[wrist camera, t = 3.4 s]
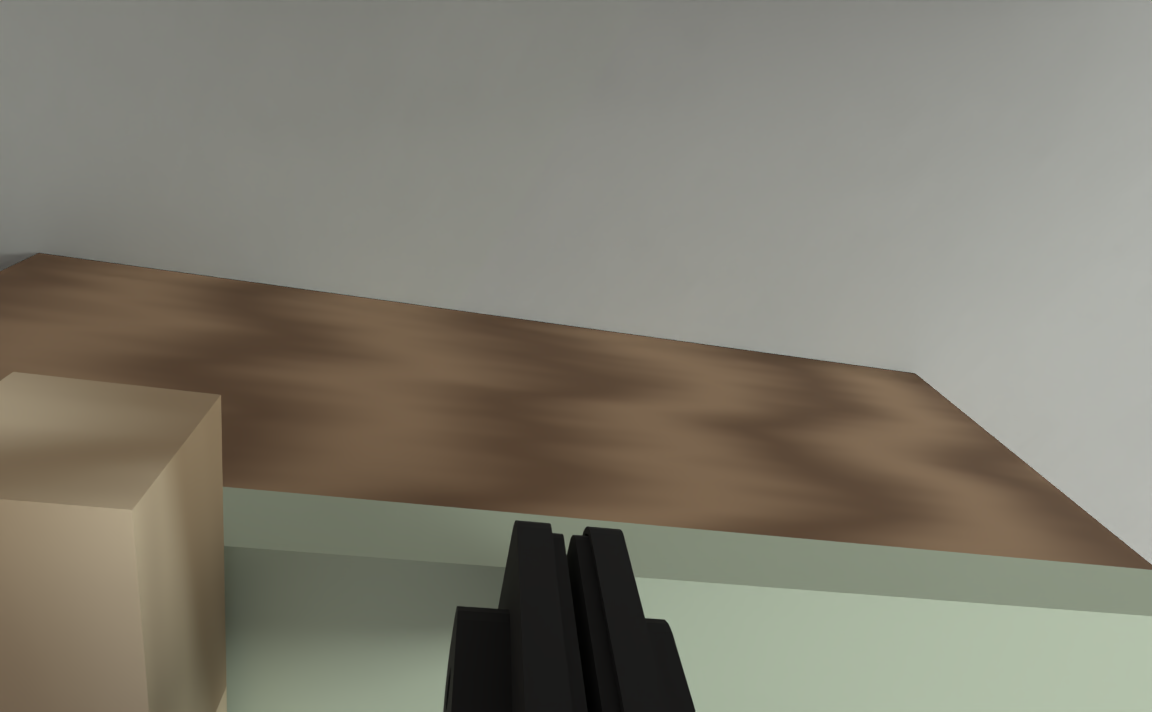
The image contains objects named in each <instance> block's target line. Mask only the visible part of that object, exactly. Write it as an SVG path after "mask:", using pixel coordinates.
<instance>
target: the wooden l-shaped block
mask: <svg viewBox="0 0 1152 712" xmlns="http://www.w3.org/2000/svg"><path fill="white" fill-rule="evenodd" d="M0 712H227V684H226V631H225V579H224V527H223V474H222V422H221V395H218V394H209V393H200V392H191V391H182V390H173V389H164V388H155V387H146V386H137V385H128V384H119V383H110V382H101V381H92V380H83V379H74V378H65V377H55V376H46V375H37V374H28V373H19V372H12V373H11V374H9V375H8V376H6V377H5V378H4V379H2V380H1V381H0Z"/></svg>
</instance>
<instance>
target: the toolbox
mask: <svg viewBox="0 0 1152 712" xmlns="http://www.w3.org/2000/svg"><path fill="white" fill-rule="evenodd" d="M12 372H19V373H28V374H37V375H46V376H55V377H65V378H74V379H83V380H92V381H101V382H110V383H119V384H128V385H137V386H146V387H155V388H164V389H173V390H182V391H191V392H200V393H209V394H218V395H221V422H222V474H223V487H232V488H243V489H254V490H265V491H277V492H288V493H299V494H310V495H321V496H332V497H344V498H355V499H366V500H377V501H388V502H399V503H411V504H422V505H433V506H444V507H455V508H466V509H478V510H489V511H500V512H511V513H522V514H533V515H545V516H556V517H567V518H578V519H589V520H600V521H612V522H623V523H634V524H645V525H656V526H667V527H679V528H690V529H701V530H712V531H723V532H735V533H746V534H757V535H768V536H779V537H790V538H802V539H813V540H824V541H835V542H846V543H857V544H869V545H880V546H891V547H902V548H913V549H924V550H936V551H947V552H958V553H969V554H980V555H991V556H1003V557H1014V558H1025V559H1036V560H1047V561H1058V562H1070V563H1081V564H1092V565H1103V566H1114V567H1125V568H1137V569H1148V570H1152V565H1151V564H1150V563H1149V562H1147V561H1146V560H1145V559H1144V558H1143V557H1141V556H1140V555H1139V554H1138V553H1136V552H1135V551H1134V550H1133V549H1131V548H1130V547H1129V546H1128V545H1126V544H1125V543H1124V542H1123V541H1122V540H1120V539H1119V538H1118V537H1117V536H1115V535H1114V534H1113V533H1112V532H1110V531H1109V530H1108V529H1107V528H1105V527H1104V526H1103V525H1102V524H1101V523H1099V522H1098V521H1097V520H1096V519H1094V518H1093V517H1092V516H1091V515H1089V514H1088V513H1087V512H1086V511H1084V510H1083V509H1082V508H1081V507H1080V506H1078V505H1077V504H1076V503H1075V502H1073V501H1072V500H1071V499H1070V498H1068V497H1067V496H1066V495H1065V494H1063V493H1062V492H1061V491H1060V490H1059V489H1057V488H1056V487H1055V486H1054V485H1052V484H1051V483H1050V482H1049V481H1047V480H1046V479H1045V478H1044V477H1042V476H1041V475H1040V474H1039V473H1038V472H1036V471H1035V470H1034V469H1033V468H1031V467H1030V466H1029V465H1028V464H1026V463H1025V462H1024V461H1023V460H1021V459H1020V458H1019V457H1018V456H1017V455H1015V454H1014V453H1013V452H1012V451H1010V450H1009V449H1008V448H1007V447H1005V446H1004V445H1003V444H1002V443H1000V442H999V441H998V440H997V439H996V438H994V437H993V436H992V435H991V434H989V433H988V432H987V431H986V430H984V429H983V428H982V427H981V426H979V425H978V424H977V423H976V422H975V421H973V420H972V419H971V418H970V417H968V416H967V415H966V414H965V413H963V412H962V411H961V410H960V409H958V408H957V407H956V406H955V405H954V404H952V403H951V402H950V401H949V400H947V399H946V398H945V397H944V396H942V395H941V394H940V393H939V392H937V391H936V390H935V389H934V388H933V387H931V386H930V385H929V384H928V383H926V382H925V381H924V380H923V379H921V378H920V377H919V376H918V375H916V374H915V373H907V372H900V371H893V370H886V369H878V368H871V367H864V366H857V365H849V364H842V363H835V362H827V361H820V360H813V359H806V358H798V357H791V356H784V355H777V354H769V353H762V352H755V351H747V350H740V349H733V348H726V347H718V346H711V345H704V344H697V343H689V342H682V341H675V340H667V339H660V338H653V337H646V336H638V335H631V334H624V333H617V332H609V331H602V330H595V329H587V328H580V327H573V326H566V325H558V324H551V323H544V322H537V321H529V320H522V319H515V318H507V317H500V316H493V315H486V314H478V313H471V312H464V311H457V310H449V309H442V308H435V307H427V306H420V305H413V304H406V303H398V302H391V301H384V300H377V299H369V298H362V297H355V296H347V295H340V294H333V293H326V292H318V291H311V290H304V289H296V288H289V287H282V286H275V285H267V284H260V283H253V282H246V281H238V280H231V279H224V278H216V277H209V276H202V275H195V274H187V273H180V272H173V271H166V270H158V269H151V268H144V267H136V266H129V265H122V264H115V263H107V262H100V261H93V260H86V259H78V258H71V257H64V256H56V255H49V254H42V253H38V254H36V255H34V256H31V257H29V258H27V259H25V260H23V261H21V262H19V263H17V264H15V265H12V266H10V267H8V268H6V269H4V270H2V271H0V381H1V380H2V379H4V378H5V377H6V376H8V375H9V374H11V373H12Z"/></svg>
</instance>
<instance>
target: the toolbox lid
mask: <svg viewBox="0 0 1152 712" xmlns="http://www.w3.org/2000/svg"><path fill="white" fill-rule="evenodd" d="M516 520H519V521H531V522H542V523H550V524H551V527H552V533H559V534H563V535H564V541H565V548H566V555H567V551H568V547H569V543H570V539H571V537H572V535H583V532H584V529H585V527H587V526H589V527H600V528H612V529H620V530H622V532H623V534H624V538H625V542H626V546H627V550H628V554H629V557H630V561H631V565H632V569H633V573H634V577H635V581H636V585H637V589H638V593H639V597H640V600H641V604H642V608H643V612H644V616H645V618H651V619H665V620H666V621H667V622H668V623H669V626H670V628H671V630H672V633H673V636H674V640H675V643H676V647H677V650H678V653H679V657H680V660H681V664H682V667H683V670H684V674H685V677H686V680H687V684H688V687H689V691H690V694H691V697H692V701H693V704H694V707H695V711H696V712H1152V570H1148V569H1137V568H1125V567H1114V566H1103V565H1092V564H1081V563H1070V562H1058V561H1047V560H1036V559H1025V558H1014V557H1003V556H991V555H980V554H969V553H958V552H947V551H936V550H924V549H913V548H902V547H891V546H880V545H869V544H857V543H846V542H835V541H824V540H813V539H802V538H790V537H779V536H768V535H757V534H746V533H735V532H723V531H712V530H701V529H690V528H679V527H667V526H656V525H645V524H634V523H623V522H612V521H600V520H589V519H578V518H567V517H556V516H545V515H533V514H522V513H511V512H500V511H489V510H478V509H466V508H455V507H444V506H433V505H422V504H411V503H399V502H388V501H377V500H366V499H355V498H344V497H332V496H321V495H310V494H299V493H288V492H277V491H265V490H254V489H243V488H232V487H223V527H224V579H225V631H226V684H227V712H443V708H444V696H445V686H446V676H447V667H448V659H449V651H450V644H451V637H452V631H453V625H454V618H455V612H456V608H457V606H464V607H480V608H495V609H498V605H499V600H500V594H501V589H502V584H503V578H504V573H505V568H506V562H507V557H508V552H509V546H510V541H511V535H512V530H513V526H514V522H515V521H516Z"/></svg>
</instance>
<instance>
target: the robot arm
mask: <svg viewBox="0 0 1152 712" xmlns="http://www.w3.org/2000/svg"><path fill="white" fill-rule="evenodd" d="M443 712H696V711H695V707H694V704H693V701H692V697H691V694H690V691H689V687H688V684H687V680H686V677H685V674H684V670H683V667H682V664H681V660H680V657H679V653H678V650H677V647H676V643H675V640H674V636H673V633H672V630H671V628H670V626H669V623H668V622H667V621H666V620H665V619H651V618H645V616H644V612H643V608H642V604H641V600H640V597H639V593H638V589H637V585H636V581H635V577H634V573H633V569H632V565H631V561H630V557H629V554H628V550H627V546H626V542H625V538H624V534H623V532H622V530H620V529H612V528H600V527H589V526H587V527H585V529H584V532H583V535H572V537H571V539H570V543H569V547H568V551H567V555H566V548H565V541H564V535H563V534H559V533H552V527H551V524H550V523H542V522H531V521H519V520H516V521H515V522H514V526H513V530H512V535H511V541H510V546H509V552H508V557H507V562H506V568H505V573H504V578H503V584H502V589H501V594H500V600H499V605H498V609H495V608H480V607H464V606H457V608H456V612H455V618H454V625H453V631H452V637H451V644H450V651H449V659H448V667H447V676H446V686H445V696H444V708H443Z"/></svg>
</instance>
